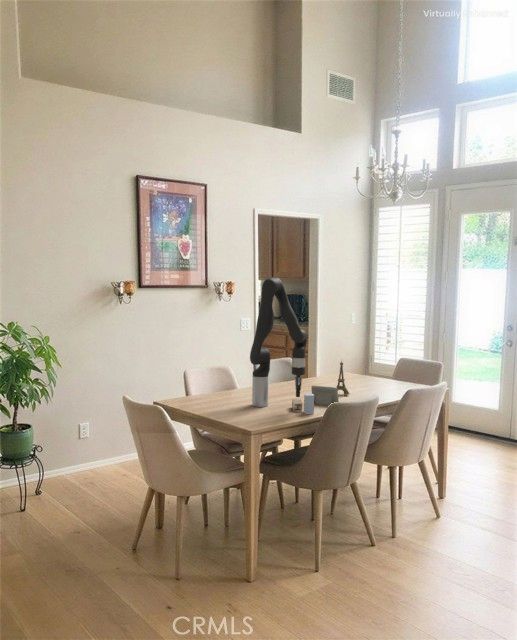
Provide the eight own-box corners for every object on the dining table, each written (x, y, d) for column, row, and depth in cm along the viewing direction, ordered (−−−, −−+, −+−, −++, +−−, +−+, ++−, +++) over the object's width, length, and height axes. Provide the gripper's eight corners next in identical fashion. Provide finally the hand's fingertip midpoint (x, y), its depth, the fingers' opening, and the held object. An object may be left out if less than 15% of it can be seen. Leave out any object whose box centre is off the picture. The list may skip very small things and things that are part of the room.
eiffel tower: (349, 393, 361) (351, 355, 359) (348, 396, 351) (349, 357, 349) (333, 392, 364) (334, 354, 362) (331, 395, 354) (332, 356, 352)
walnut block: (293, 411, 308) (292, 408, 318) (302, 411, 308) (300, 408, 318) (293, 402, 308) (292, 399, 318) (302, 402, 308) (301, 399, 318)
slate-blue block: (303, 411, 308) (304, 393, 308) (312, 411, 308) (313, 393, 308) (304, 413, 303) (305, 395, 303) (313, 413, 303) (314, 395, 303)
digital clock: (339, 404, 329) (340, 386, 328) (333, 407, 321) (333, 388, 321) (315, 400, 338) (316, 383, 337) (308, 403, 330) (308, 385, 330)
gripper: (291, 363, 312) (290, 394, 313) (292, 367, 299) (291, 399, 300) (304, 364, 312) (303, 394, 313) (306, 367, 299) (305, 399, 300)
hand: (297, 396), depth 307 cm, fingers closed
